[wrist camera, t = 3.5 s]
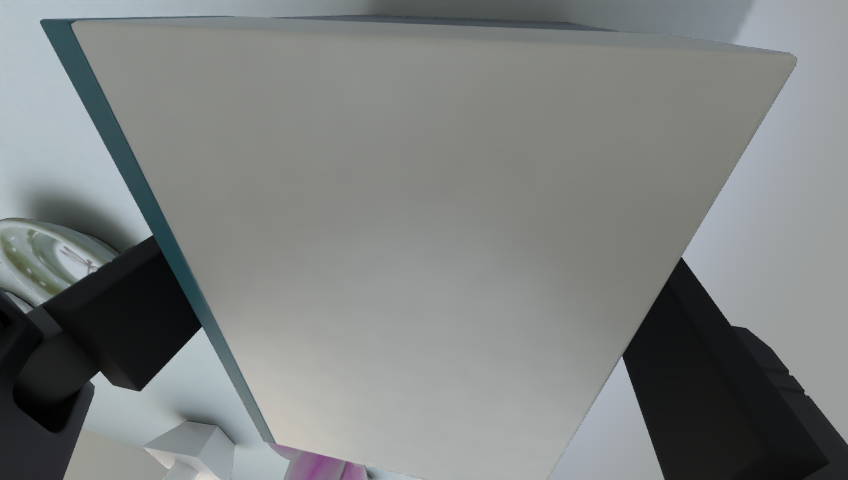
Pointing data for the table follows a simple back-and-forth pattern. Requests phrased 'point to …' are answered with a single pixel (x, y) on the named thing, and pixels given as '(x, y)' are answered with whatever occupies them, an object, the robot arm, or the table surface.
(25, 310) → the sitting furry creature
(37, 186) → the table surface
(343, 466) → the lily
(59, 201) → the table surface
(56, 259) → the saucer
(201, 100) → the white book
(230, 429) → the table surface
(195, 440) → the figurine
